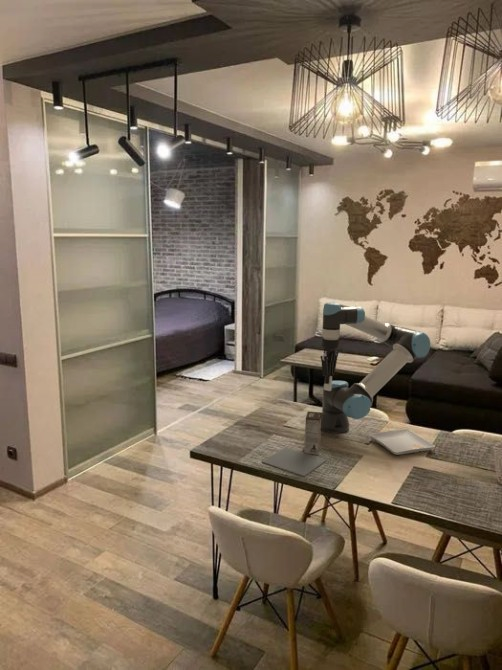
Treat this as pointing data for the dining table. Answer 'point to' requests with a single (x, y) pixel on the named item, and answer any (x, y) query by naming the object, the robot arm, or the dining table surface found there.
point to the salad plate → (401, 441)
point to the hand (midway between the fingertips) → (327, 390)
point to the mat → (294, 461)
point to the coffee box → (313, 432)
